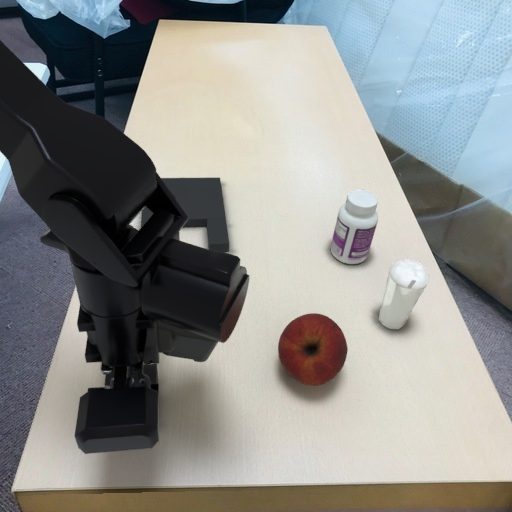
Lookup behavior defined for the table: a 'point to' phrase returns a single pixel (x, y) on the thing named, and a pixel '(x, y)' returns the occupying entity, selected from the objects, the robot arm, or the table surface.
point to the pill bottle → (355, 227)
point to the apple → (312, 349)
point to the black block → (147, 370)
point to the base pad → (200, 207)
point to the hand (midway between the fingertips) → (132, 397)
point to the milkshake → (402, 292)
